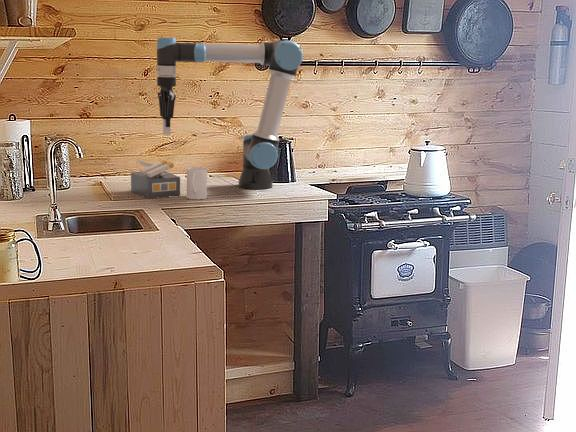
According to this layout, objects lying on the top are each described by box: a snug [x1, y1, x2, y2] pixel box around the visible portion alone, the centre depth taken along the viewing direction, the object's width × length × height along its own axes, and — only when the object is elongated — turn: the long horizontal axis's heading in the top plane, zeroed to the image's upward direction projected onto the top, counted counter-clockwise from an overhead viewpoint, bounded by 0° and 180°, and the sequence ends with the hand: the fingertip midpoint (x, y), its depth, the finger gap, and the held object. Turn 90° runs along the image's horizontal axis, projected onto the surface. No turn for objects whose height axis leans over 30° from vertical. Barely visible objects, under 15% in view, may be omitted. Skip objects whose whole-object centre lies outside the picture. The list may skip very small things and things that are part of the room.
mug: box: [185, 166, 208, 200], centre depth 308 cm, size 12×8×12 cm
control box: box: [130, 171, 181, 199], centre depth 315 cm, size 14×18×10 cm
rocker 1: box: [136, 159, 155, 168], centre depth 319 cm, size 11×3×2 cm, turn 124°
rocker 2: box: [139, 159, 168, 175], centre depth 314 cm, size 11×3×2 cm, turn 121°
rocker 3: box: [146, 162, 175, 178], centre depth 309 cm, size 11×3×2 cm, turn 121°
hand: (166, 134), depth 313 cm, fingers closed
